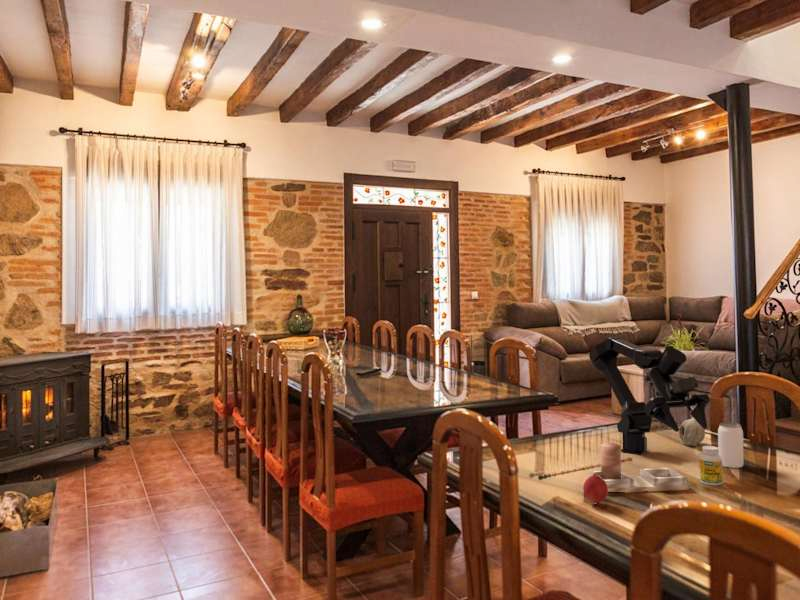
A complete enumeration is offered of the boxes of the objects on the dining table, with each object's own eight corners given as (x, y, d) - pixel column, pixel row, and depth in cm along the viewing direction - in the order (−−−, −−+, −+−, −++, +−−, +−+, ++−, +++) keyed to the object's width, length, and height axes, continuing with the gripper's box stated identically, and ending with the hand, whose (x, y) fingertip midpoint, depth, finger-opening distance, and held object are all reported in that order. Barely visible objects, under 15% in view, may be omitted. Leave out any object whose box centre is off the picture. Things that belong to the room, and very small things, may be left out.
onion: (579, 500, 154) (579, 469, 153) (602, 499, 154) (601, 468, 154) (589, 509, 148) (588, 476, 148) (612, 507, 148) (611, 475, 148)
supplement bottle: (720, 480, 166) (719, 445, 166) (724, 486, 161) (723, 450, 161) (698, 479, 168) (698, 444, 168) (701, 485, 163) (701, 449, 163)
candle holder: (600, 493, 159) (599, 450, 158) (587, 482, 168) (587, 441, 167) (688, 489, 160) (687, 447, 159) (671, 478, 169) (670, 438, 168)
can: (746, 469, 176) (746, 427, 175) (722, 468, 177) (721, 427, 177) (739, 462, 182) (738, 422, 182) (715, 461, 183) (715, 422, 183)
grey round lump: (689, 448, 208) (689, 419, 210) (712, 449, 200) (712, 419, 203) (671, 443, 203) (672, 413, 206) (694, 444, 196) (695, 413, 199)
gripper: (649, 369, 174) (676, 415, 163) (705, 365, 178) (735, 410, 168) (633, 392, 182) (658, 438, 171) (687, 388, 186) (714, 432, 176)
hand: (692, 429), depth 171 cm, fingers open, 9 cm apart
